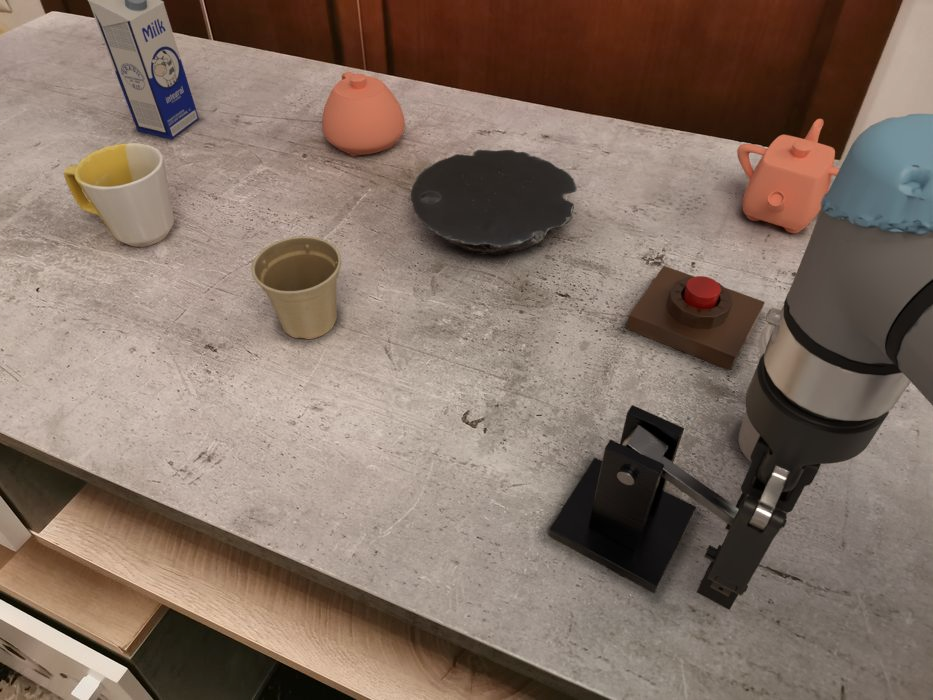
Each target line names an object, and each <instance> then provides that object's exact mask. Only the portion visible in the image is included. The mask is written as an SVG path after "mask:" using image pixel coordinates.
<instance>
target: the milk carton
mask: <svg viewBox="0 0 933 700" xmlns="http://www.w3.org/2000/svg"><path fill="white" fill-rule="evenodd" d="M87 2H88V4H89V6H90V9H91V11H92V14H93V17H94V20H95V22H96V25H97V27H98V31H99V33H100V36H101V38H102V40H103V41H102V42H103V43H104V46H105V49H106V51H107V54H108V57H109V59H110V62H111V65H112V67H113V70H114V72H115V75H116V78H117V81H118V83H119V86H120V88H121V91H122V94H123V96H124V99H125V102H126V105H127V107H128V110H129V113H130V115H131V118H132V120H133V123H134V125H135V128H136V131H137V132H139V133H142V134H147V135H151V136H155V137H159V138H164V139H167V140H171V141H172V140H173V139H174V138H176V137H178V135H180V134H181V133H183V132H184V131H186V130H187V129H188V128H189V127H191V126H192V125H193V124H195V123H196V122H197V121H199V120H200V117H199V115H198V114H199V113H198V110H197V107H196V104H195V100H194V98H193V94H192V91H191V87H190V84H189V81H188V78H187V75H186V71H185V68H184V65H183V62H182V58H181V55H180V51H179V49H178V45H177V41H176V39H175V36H174V32H173V29H172V25H171V23H170V19H169V16H168V12H167V9H166V6H165V1H163V0H87Z"/></svg>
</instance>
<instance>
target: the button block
mask: <svg viewBox="0 0 933 700" xmlns="http://www.w3.org/2000/svg"><path fill="white" fill-rule="evenodd" d="M693 277H695V276H693V275H691V274H689V273H686V272H682V271H680V270H678V269H676V268H675V269H674V268H671V267H669V266H667V265H663V266H662V268H660V270H659V272H658V273H657V274H656V276H655V277H654V279H653V280H652V282H651V283H650V284H649V286H648V287H647V288H646V290H645V291H644V293H643V294H642V296H641V297H640V298H639V300H638V302H637V303H636V304H635V305H634V307H633V308H632V310H631V311H630V313H628V317H627V322H626V327H625V330H628V331H630V332H633V333H635V334H638V335H641V336H642V337H645V338H648V339H651V340H653V341H656V342H657V343H661V344H663V345H666V346H668V347H670V348H673V349H675V350H678V351H679V352H682V353H685V354H688V355H690V356H693V357H694V358H697V359H700V360H703V361H705V362H707V363H710V364H712V365H715V366H718V367H720V368H722V369H725V370H727V371H731V370H732V368H733V367H734V365H735V363H736V362H737V360H738V358H739V356H740V353H741V352H742V350H743V348H744V346H745V344H746V342H747V341H748V339H749V337H750V335H751V333H752V331H753V330H754V327H755V326H756V324H757V322H758V320H759V318H760V316H761V314H762V311H763V308H764V306H765V301H764V300H760V299H758V298H755V297H752V296H750V295H747V294H744V293H741V292H739V291H735V290H733V289H730V288H727V287H725V286H723V285H722V284H721V283H720V282H718V281H716V282H717V283H718V284H719V285H720V288H721V291H720V295H719V298H718V301H717V304H716V305H715V306H714V307H713V308H711V309H698V308H695V307H692V306H690V305H688V304H687V303H686V302H685V300H684V297H683V296H684V292H685V288H686V284H687V282H688V280H689V279H691V278H693Z"/></svg>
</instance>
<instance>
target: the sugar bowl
mask: <svg viewBox="0 0 933 700" xmlns="http://www.w3.org/2000/svg"><path fill="white" fill-rule="evenodd" d="M321 126H322V133H323V136H324V138H325V139H326V140H327V141H328V143H330V144H331V145H333V147H335V148H336V149H338V150H339V151H342V152H343V153H344V152H345V153H347V154H348V155H350V156H352V157H357V156H361V155H370V154H371V155H372V154H375V153H379V152H382V151H385V150H387V149H391V148H392V147H393V146H394V145H395V144H396V143H397V141H398V140H399V139H400V138H401V136H402V135H403V134H404V131H405V128H406V121H405V116H404V113H403V109H402V107H401V105H400V103H399V101H398V99H397V98H396V96H395V95H394V94H393V92H392V91H391V90H390V89H389V87H388V86H387V85H386V84H385V83H384V82H383V81H382V80H381V79H379V78H377V77H375V76H370V75H366V74H364V73H353V72H352V71H345V72H344V73H342V74H341V80H339V81H338V82H337V83H335V85H334V86H333V88H332V90H331V91H330V93H329V96H328V97H327V99H326V102H325V105H324V108H323V111H322V119H321Z"/></svg>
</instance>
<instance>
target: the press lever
mask: <svg viewBox="0 0 933 700" xmlns="http://www.w3.org/2000/svg"><path fill="white" fill-rule="evenodd" d="M622 445H624V446H626V447H628V448H630V449H632V450H634V451H637V452H639V453H641V454H643V455H645V456H647V457H649V458H651V459H654V460H656V461H658V462H660V463H662V464H664V468H663V471H662V474H661V477H662V478H664V479H665V480H667V483H669V484H671V485H673V486H674V487H675V488H677V489H678V490H680V491H681V492H682V493H683V494H685V495H687V496H688V497H689V498H690V499H692V500H693V501H695V502H696V503H698V504H699V505H701V506H702V507H704V508H705V510H707V511H709V512H711V514H713V515H715V517H717V518H719V519H720V520H722V521H723V522H725V523H726V524H727V523H728V524H729V525H730V526H731V524H732V522H733V520H734V518H735V516H736V514H737V512H738V510H739V508H737V507H736V505H734V504H733V503H731V502H730V501H729V500H727V499H726V498H724V497H723V496H722V495H720V494H719V493H718V492H716V491H714V490H713V489H711V488H710V487H708V485H706V484H705V483H703V482H701V481H700V480H699V479H697V478H696V477H695V476H693V475H691V474H690V473H689V472H687V471H686V470H685V469H683V468H682V467H681V466H679V465H677V464H676V463H675V462H671V461H670V460H669V459H667V458H666V457H664V454H665V452H666V450H667V448H668V447H669V446H668V445H667V444H666V443H664V442H663V441H661V440H660V439H658V438H657V437H655V436H654V435H653V434H651V433H650V432H648V431H647V430H645V429H644V428H643V427H641V426H640V425H638V426H637V427H636V428H635V429H634V430H633V431H632V432H631V433H630V435H629V436H628V437H627V438H626V439H625V441H624V442H623V444H622Z"/></svg>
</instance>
